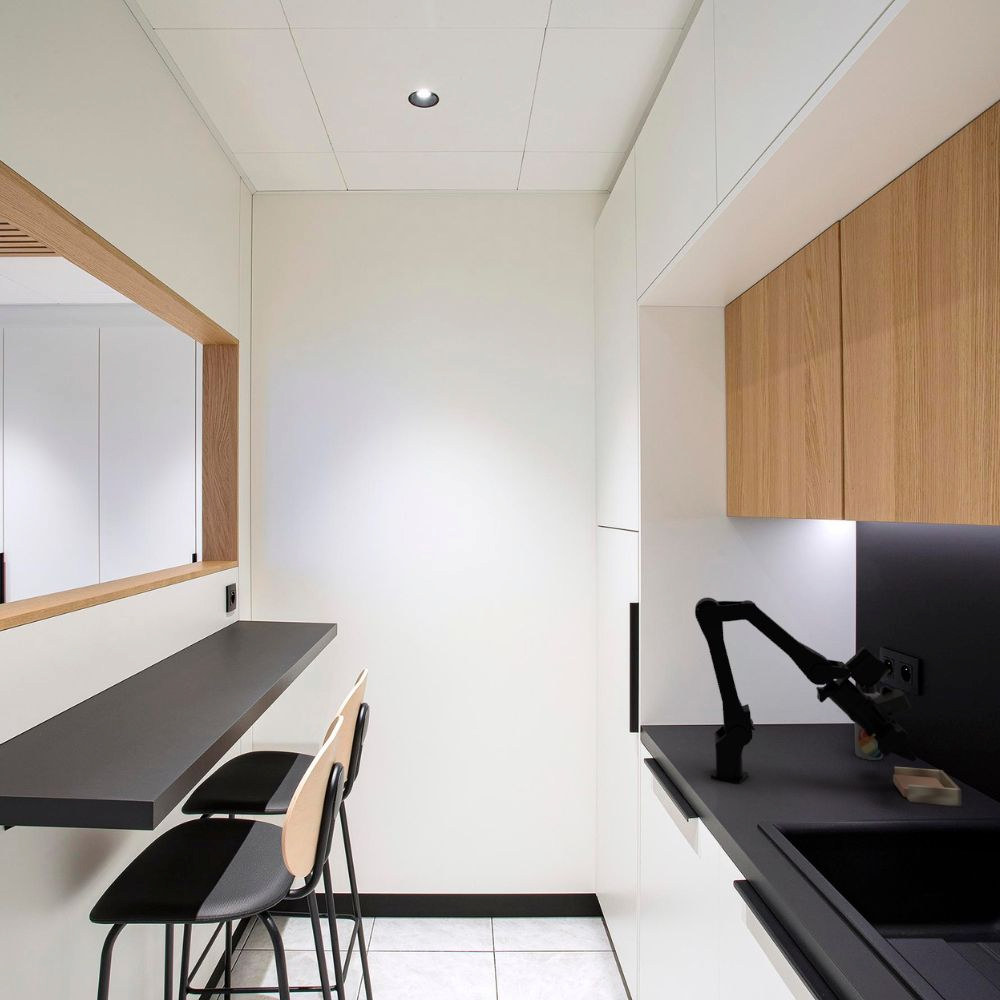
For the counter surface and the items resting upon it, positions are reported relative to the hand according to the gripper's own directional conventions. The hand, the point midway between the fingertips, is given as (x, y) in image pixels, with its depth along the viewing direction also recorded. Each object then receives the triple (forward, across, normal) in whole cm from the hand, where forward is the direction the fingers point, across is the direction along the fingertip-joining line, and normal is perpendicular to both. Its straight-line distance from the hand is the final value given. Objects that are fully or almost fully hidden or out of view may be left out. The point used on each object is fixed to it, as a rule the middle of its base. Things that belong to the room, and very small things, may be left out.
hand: (914, 759), depth 143 cm
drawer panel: (+2, 0, +6) cm, 6 cm away
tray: (+6, 0, +3) cm, 7 cm away
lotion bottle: (+2, +21, +8) cm, 23 cm away
